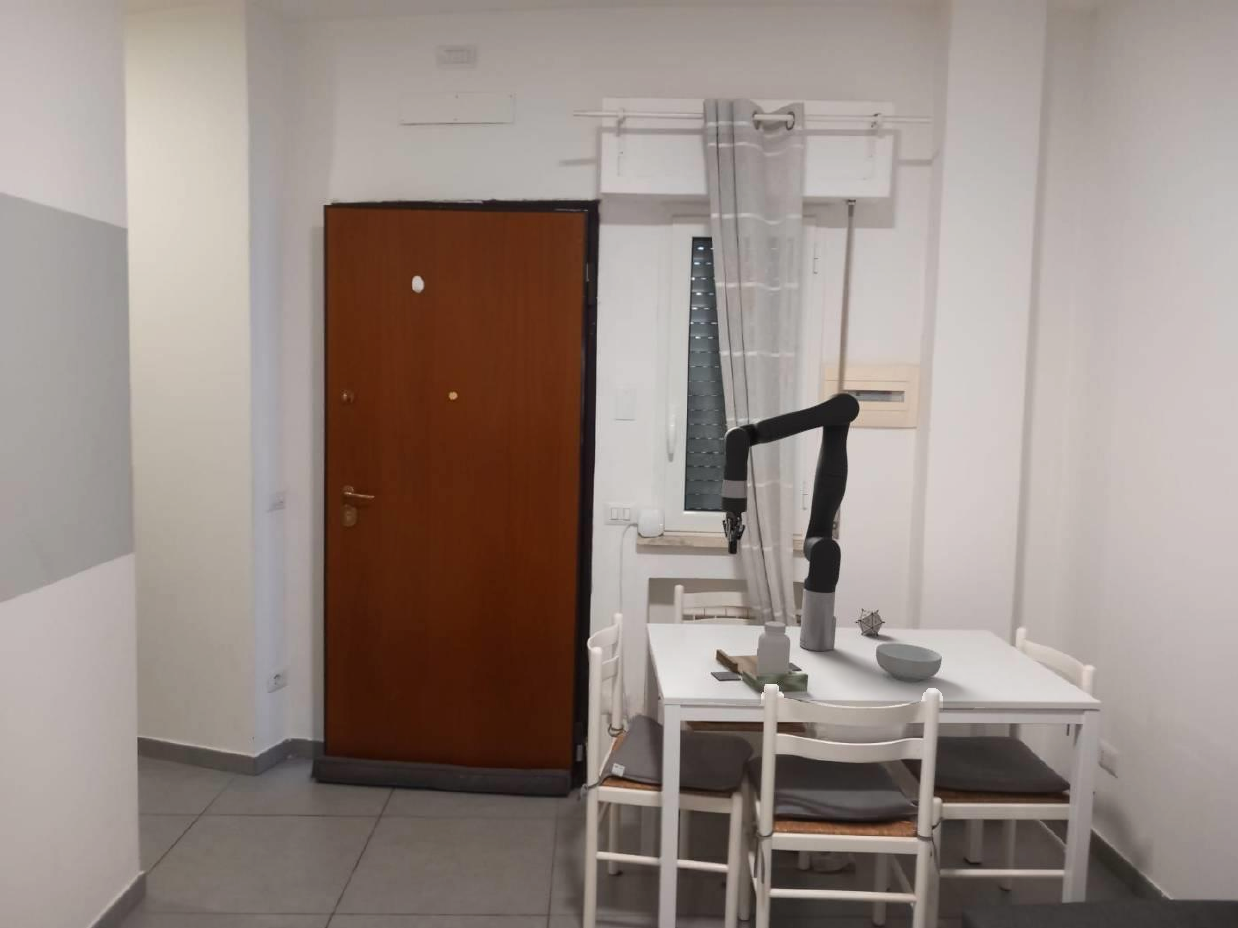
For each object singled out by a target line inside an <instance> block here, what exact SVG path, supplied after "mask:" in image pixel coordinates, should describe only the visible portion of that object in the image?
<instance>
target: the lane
mask: <svg viewBox="0 0 1238 928" xmlns="http://www.w3.org/2000/svg"><path fill="white" fill-rule="evenodd" d="M756 651H757V652H756V655H755V654H754V655H753V654H752V655H751V654H750V655H728V654H727V653H725V651H723V650H722V649H716V653H715V654H716V655H715V659H716V660H717V661H718V662H720V663H721V664H722V665H724V666H725V667H726V668H727V669H728V670H730V671H711V672H710V674H711V675H712V676H713V677H714V678H715V679H716V680H718V681H720V682H723V681H741V680H742V681H743V682H744V683H745V684H746V685H747V686H749V687H750V688H751V689H753V690H754V691H755V692H757V693H760V694H761V693H765V692H764V686H765V684H777V685H778V686H779V692H778V693H784V692H785V693H787V692H803V691H804V692H807V691H808V684H809V683H808V682H809V674H808V673H797V671H802V668H800V667H798V666H797V665H796V664H795V663H793V662H789V674H777V675H757V660H758V648H757V650H756ZM736 673H737V674H738V675H737V674H736ZM739 675H740V676H741V677H742V678H741V677H739Z"/></svg>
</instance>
